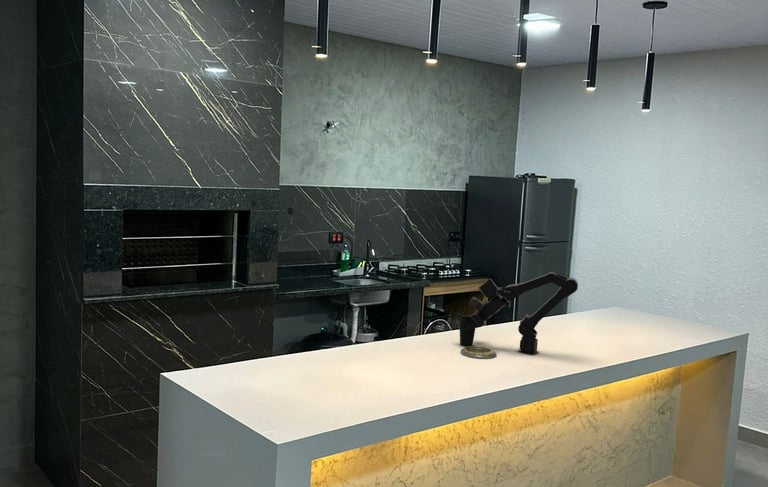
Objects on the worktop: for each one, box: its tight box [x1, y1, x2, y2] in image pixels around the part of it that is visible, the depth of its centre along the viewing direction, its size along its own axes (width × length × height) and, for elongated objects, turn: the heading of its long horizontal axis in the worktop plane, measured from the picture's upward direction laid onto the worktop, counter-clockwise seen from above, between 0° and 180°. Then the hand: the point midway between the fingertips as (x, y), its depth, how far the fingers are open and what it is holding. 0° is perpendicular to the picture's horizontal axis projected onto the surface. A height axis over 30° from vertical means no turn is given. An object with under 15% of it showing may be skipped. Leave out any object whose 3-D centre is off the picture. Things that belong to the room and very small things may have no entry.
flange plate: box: [460, 345, 497, 360], centre depth 287 cm, size 15×15×2 cm
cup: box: [458, 315, 476, 347], centre depth 302 cm, size 8×8×12 cm
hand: (466, 328), depth 302 cm, fingers open, 9 cm apart
